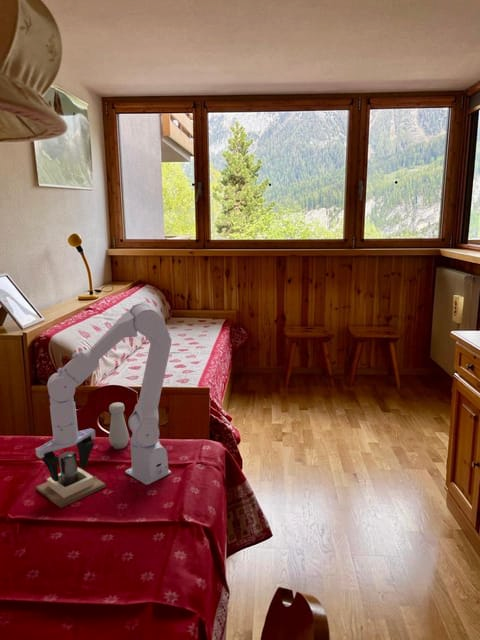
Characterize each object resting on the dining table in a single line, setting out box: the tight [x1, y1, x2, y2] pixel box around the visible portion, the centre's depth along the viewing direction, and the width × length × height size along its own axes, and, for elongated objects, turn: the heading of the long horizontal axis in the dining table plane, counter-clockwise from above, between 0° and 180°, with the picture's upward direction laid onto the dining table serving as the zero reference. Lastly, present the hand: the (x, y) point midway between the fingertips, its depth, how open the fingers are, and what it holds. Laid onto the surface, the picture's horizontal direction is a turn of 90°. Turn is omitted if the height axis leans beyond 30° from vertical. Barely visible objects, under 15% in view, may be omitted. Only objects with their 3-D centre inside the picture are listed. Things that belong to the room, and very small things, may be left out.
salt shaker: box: [108, 401, 130, 450], centre depth 145 cm, size 6×6×13 cm
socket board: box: [36, 466, 106, 509], centre depth 124 cm, size 12×12×3 cm
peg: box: [58, 451, 79, 487], centre depth 123 cm, size 4×4×8 cm
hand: (69, 473), depth 123 cm, fingers open, 7 cm apart
